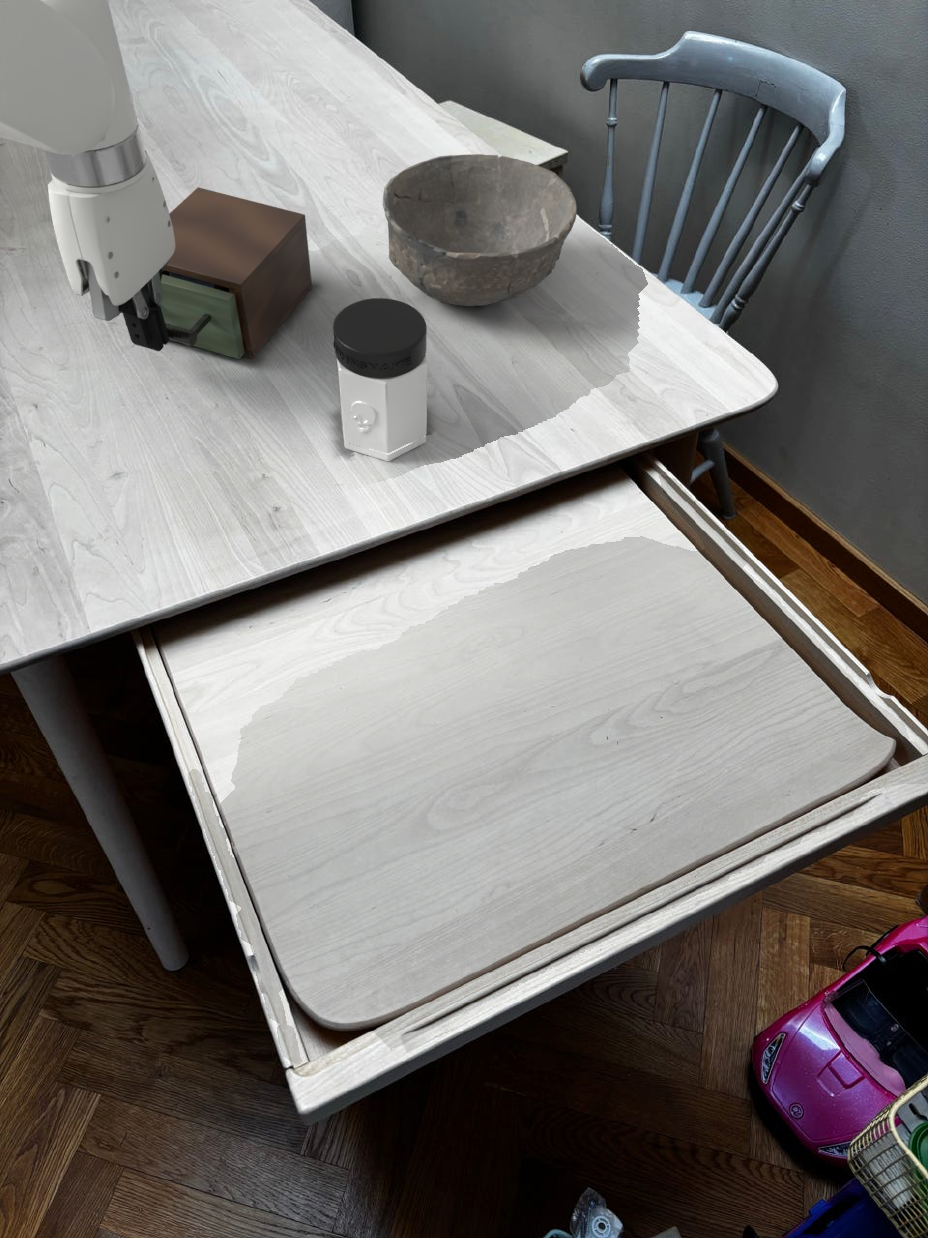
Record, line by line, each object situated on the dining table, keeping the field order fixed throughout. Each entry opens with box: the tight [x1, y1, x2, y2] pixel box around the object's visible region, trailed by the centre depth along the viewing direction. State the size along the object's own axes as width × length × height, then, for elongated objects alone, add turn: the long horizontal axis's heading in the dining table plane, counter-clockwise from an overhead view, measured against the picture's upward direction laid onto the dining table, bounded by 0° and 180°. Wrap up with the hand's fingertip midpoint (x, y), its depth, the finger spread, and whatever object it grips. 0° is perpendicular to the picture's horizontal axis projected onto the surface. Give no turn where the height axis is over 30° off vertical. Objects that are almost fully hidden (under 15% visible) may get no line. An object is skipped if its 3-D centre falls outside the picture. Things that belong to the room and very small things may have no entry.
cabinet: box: [164, 187, 313, 359], centre depth 95 cm, size 14×13×9 cm
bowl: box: [381, 153, 578, 307], centre depth 99 cm, size 21×21×10 cm
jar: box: [332, 297, 429, 462], centre depth 83 cm, size 9×8×12 cm
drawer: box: [158, 270, 245, 360], centre depth 93 cm, size 17×11×7 cm
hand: (151, 342), depth 87 cm, fingers closed
